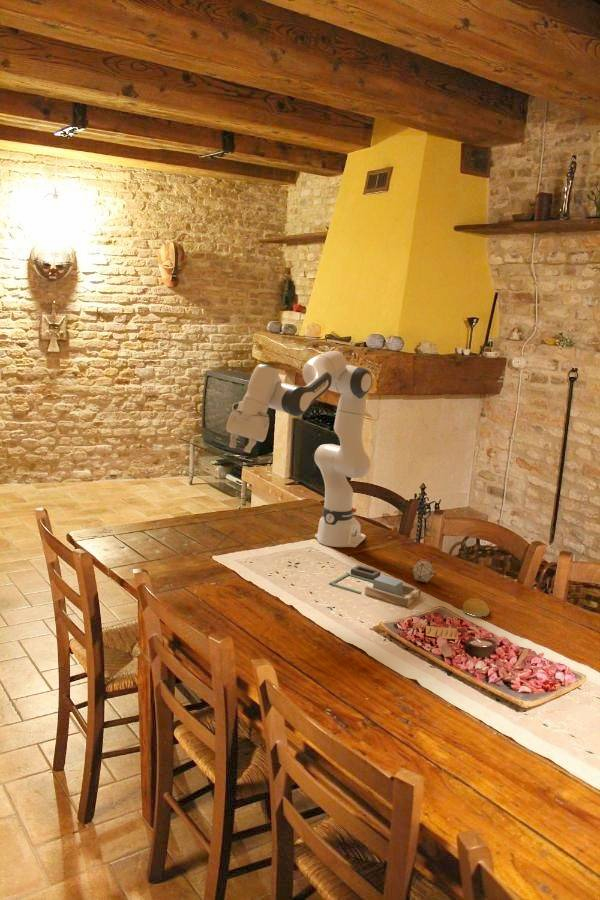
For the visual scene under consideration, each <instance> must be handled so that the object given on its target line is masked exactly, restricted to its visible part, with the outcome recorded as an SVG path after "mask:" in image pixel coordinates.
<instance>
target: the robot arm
mask: <svg viewBox="0 0 600 900" xmlns="http://www.w3.org/2000/svg"><path fill="white" fill-rule="evenodd" d="M347 363H348V361H347V359H346V357H345V355H344V354H343V353H342V352H340V351H339V350H329V351H324V352H323V353H320V354H317V355H316V356H313V357H311V358H310V359H309V360H307V361H306V362H305V363H304V364H303V367H302V373H301V374H302V378H303V381H304V383H305V384H306V385H305V386H301V385H296V384H290V383H288V382H284V381H283V380H282V379H281V377H280V369H279V368H278V367H276V366H273V365H269V364H265V363H259V364H257V365H256V366H255V368H254V370H253V372H252V374H251V376H250V378H249V381H248V384H247V391H246V393H245V394H244V396H243V398H242V400H240V401H238V402H236V403H233V404H232V406H231V410H232V411H231V412H230V414H229V417H228V420H227V422H226V426H225V431H226V432H228V433H229V434H230V437H229V438H230V443H229V445H228V446H229V447H230V448H233V449H236V448H237V445H238V444H237V439H238V437H239V436H240V437H242V438H247V439H248V443H247V444H246V445H245V446H244V449H243V451H244V452H245V453H247V454H250V453H252V449H253V448H254V447H255V446H256V444H257V441H258V442H260V443H263V442H264V441H265V440H266V438H267V435H268V431H269V428H270V427H269V426H270V416H269V413H267V412H268V410H269V408H270V409H273V410H275V411H279V412H283V413H286V414H288V415H290V416H293V417H299V416H301V415H303V414H304V413H306V412H307V410H308V409H309V408H310V407H311V405H312V404H314V402H316V401H317V400H318V399H319V398H320V397H321V396H323V395H324V394H325V393H326V392H327V391H328V392H329V391H331V392H334V393H338V394H340V396H339V399H338V403H337V406H336V407H337V408H336V413H335V419H334V424H333V431H334V433H335V434H336V435H337V438H338V440H339V444H340V445H338V444H334V443H325V444H323V443H322V444H321V445H319V446H318V447H317V448H316V450H315V452H314V457H313V458H314V459H313V460H314V463H315V464H316V466H317V467H318V468H319V470H320V473H321V476H322V479H323V482H324V505H323V507H322V516H321V517H320V518H319V523H318V528H317V529H318V530H317V533H315V534H314V537H315V538H316V540H317V542H318V543H320V544H321V545H324V546H326V547H327V546H328V547H333V548H334V547H335V548H356V547H357V546H359V545H360V544H361V543H362V542H363V541H364V540H365V539H366V538H367V537H366V535H365V534H363V533H361V527H362V526H361V524H360V522H359V521H358V520H357V519H356V518H355V517H354V513H357V507H354V506H353V499H354V498H353V497H354V490H353V487H352V486H351V485H350V483H349V482H348V479H347V478H349V479H363V478H364V477H366V476H367V475H368V473H369V471H370V469H371V459H370V457H369V456H368V454H367V452H366V451H365V448H364V445H363V444H364V443H363V435H362V434H363V426H364V421H365V414H366V407H367V394H368V393H369V391H370V389H371V387H372V383H373V378H372V377H373V376H372V374H371V372H370V371H369V370H368V369H366V368H365V367H361V366H355V365H353V364H347Z"/></svg>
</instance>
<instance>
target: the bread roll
mask: <svg viewBox="0 0 600 900" xmlns="http://www.w3.org/2000/svg"><path fill="white" fill-rule="evenodd" d="M462 611H463V612H466V613H469V614H472V615H475V616H478V617H477V618H483V617H484V616H485V617H487V616H489V614H490V608H489V606H488V604H487V603H486V602H485V601H484V600H483V599H480V598H475V597H473V598H469V599H467V600H465V601H464V602H463V605H462ZM466 613H465V614H466ZM482 616H483V617H482Z"/></svg>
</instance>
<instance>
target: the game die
mask: <svg viewBox="0 0 600 900" xmlns="http://www.w3.org/2000/svg"><path fill="white" fill-rule="evenodd" d="M417 560H418V561H417V562H416V563H415V564H414V566H413V567H410V568H409V569H410V570H411V571H412V574H413V577H414V580H413V582H417V581H418V582H422V583H425V584H427V585H429V581H430V580H431V579H432V577H433V576H434V575H435V576H436V575H437V573H436V572H435V571H434V567H433V565H432V564H433V561H434V560H432V561H424V560H420V558H419V557H417Z"/></svg>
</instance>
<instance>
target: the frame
mask: <svg viewBox="0 0 600 900" xmlns="http://www.w3.org/2000/svg"><path fill="white" fill-rule="evenodd" d="M348 576H349V577H353V578H355V579H359V580H363V581H367V582H369V583H372V584H373V582H374V581H373V580H370V579H366V578H363V577H360V576H356V575H353V574H351V573H349V572H347V573H345V574H343V575H341V576H339V577H338V578H335V579H334V580H332V581H330V582H329V583H328V585H330V586H333V587H337V588H340V589H343V590H346V591H350V592H353V593H357V594H361V593H362V591H360V590H357V589H353V588H350V587H347V586H344V585H340V584H338V582H339V581H341V580H344V579H345V578H347V577H348Z"/></svg>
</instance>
